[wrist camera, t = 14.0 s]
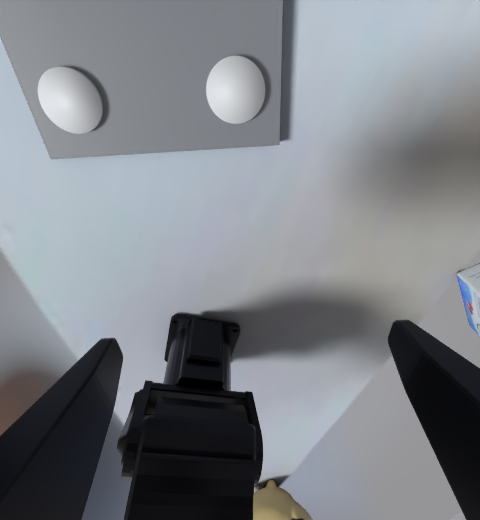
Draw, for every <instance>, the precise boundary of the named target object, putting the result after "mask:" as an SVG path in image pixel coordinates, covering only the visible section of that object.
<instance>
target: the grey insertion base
mask: <svg viewBox="0 0 480 520" xmlns="http://www.w3.org/2000/svg"><path fill="white" fill-rule="evenodd" d="M282 18H283V0H0V38H1V40H2V42H3V45H4V47H5V50H6V52H7V54H8V57H9V59H10V62H11V64H12V67H13V69H14V71H15V74H16V76H17V79H18V81H19V83H20V86H21V88H22V91H23V93H24V96H25V98H26V100H27V103H28V105H29V108H30V110H31V112H32V115H33V117H34V120H35V122H36V125H37V127H38V129H39V132H40V134H41V137H42V139H43V141H44V144H45V146H46V149H47V151H48V153H49V156H50V158H51V159H64V158H80V157H96V156H112V155H128V154H144V153H160V152H176V151H192V150H207V149H223V148H239V147H255V146H271V145H279V143H280V101H281V60H282Z"/></svg>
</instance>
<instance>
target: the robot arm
mask: <svg viewBox="0 0 480 520" xmlns="http://www.w3.org/2000/svg"><path fill="white" fill-rule="evenodd" d="M176 320H178V321H176ZM239 333H240V325H238V324H235V323H228V322H221V321H214V320H208V319H201V318H194V317H187V316H181V315H174V316H172V318H171V322H170V328H169V334H168V340H167V346H166V352H165V361H166V362H167V367H166V372H165V377H164V382H163V384H162V383H153V382H152V381H145V384H144V387H143V389H142V390H141V389H140V391H139V392H137V393H135V395H134V399H133V402H132V406H131V409H130V413H129V415H128V418H127V420H126V423H125V425H124V428H123V430H122V433H121V435H120V438H119V440H118V444H117V450H118V451H119V453H120V455H121V457H122V462H121V464H122V465H123V469H122V478H128V479H132V482H131V487H130V492H129V496H128V501H127V506H126V512H125V516H124V520H253V495H254V486H255V485H257V484H258V482H259V479H260V476H261V471H262V462H263V441H262V434H261V429H260V425H259V420H258V416H257V411H256V407H255V403H254V398H253V394H252V392H247V391H246V392H236V391H231V372H230V358H231V355H232V353H233V350H234V347H235V344H236V342H237V339H238V336H239ZM388 344H389V347H390V350H391V352H392V355H393V358H394V361H395V364H396V367H397V369H398V372H399V375H400V378H401V381H402V383H403V386H404V389H405V391H406V393H407V395H408V398H409V399H410V402H411V404H412V406H413V408H414V410H415V412H416V415H417V417H418V419H419V421H420V423H421V425H422V427H423V429H424V431H425V434H426V436H427V438H428V440H429V442H430V444H431V446H432V448H433V450H434V452H435V455H436V457H437V459H438V461H439V463H440V465H441V467H442V469H443V472H444V473H445V476H446V478H447V480H448V482H449V484H450V486H451V488H452V490H453V493H454V495H455V497H456V499H457V501H458V503H459V505H460V507H461V509H462V512H463V514H464V516H465V518H466V520H480V368H478V367H476V366H475V365H474V364H472V363H471V362H469V361H468V360H467V359H465V358H464V357H462V356H461V355H459V354H458V353H456V352H455V351H453V350H452V349H450V348H449V347H447V346H446V345H445V344H443V343H442V342H440V341H439V340H437V339H436V338H434V337H433V336H432V335H430V334H429V333H427V332H426V331H424V330H423V329H421V328H420V327H418V326H417V325H416V324H414V323H413V322H411V321H409V320H396V321H394V322H393V325H392V328H391V330H390V333H389V336H388ZM122 362H123V354H122V352H121V349H120V347H119V345H118V343H117V340H116V339H115V338H103V339H101V340H99V341H98V342H97V343H96V344H95V345H94V346H93V347H92V348H91V349H90V350H89V351H88V352H87V353H86V354H85V355H84V356H83V357H82V358H81V359H80V360H79V361H78V362H76V363H75V364H74V365H73V366H72V367H71V368H70V369H69V370H68V371H67V372H66V373H65V374H64V375H63V376H62V377H61V378H60V379H59V380H58V381H57V382H56V383H55V384H54V385H53V386H52V387H51V388H49V389H48V390H47V391H46V392H45V393H44V394H43V395H42V396H41V397H40V398H39V399H38V400H37V401H36V402H35V403H34V404H33V405H32V406H31V407H30V408H29V409H28V410H27V411H26V412H25V413H24V414H23V415H22V416H20V417H19V419H17V420H16V421H15V422H14V423H13V424H12V425H11V426H10V427H9V428H8V429H7V430H6V431H5V432H4V433H3V434H2V435H1V436H0V520H81V519H82V516H83V512H84V509H85V505H86V502H87V499H88V495H89V492H90V488H91V485H92V482H93V478H94V475H95V471H96V468H97V465H98V461H99V458H100V454H101V451H102V447H103V444H104V441H105V437H106V434H107V431H108V427H109V423H110V420H111V417H112V413H113V410H114V406H115V401H116V395H117V390H118V384H119V379H120V373H121V368H122Z"/></svg>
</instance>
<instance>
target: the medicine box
mask: <svg viewBox="0 0 480 520" xmlns="http://www.w3.org/2000/svg"><path fill="white" fill-rule="evenodd" d="M457 278H458V282H459V286H460V290H461V294H462V298H463V302H464V306H465V309H466V313H467V318H468V322H469V325H470V326H471V327H472V328H473V329H474V331H476V333H477V334H478V335H479V336H480V263H479V264H476V265H474V266H472V267H470V268H468V269H466V270H463V271H461V272H458V273H457Z"/></svg>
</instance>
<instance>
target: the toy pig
mask: <svg viewBox="0 0 480 520" xmlns="http://www.w3.org/2000/svg"><path fill="white" fill-rule="evenodd" d="M253 520H313V519H312V518H311V516H310V515H309V513H308V512H307V511H306V510H305V509H304V508H303V507H302V506H301V505H299V504H298V503H297V502H296V501H295V500H294V499H293V498H292V496H291V495H290V494H289V493H288V492H287V491H285V490H283V489H282V488H279V487H276V484H275V482H274V481H273V480H269V481H268V483H267V486H266V487H265V488H262V489H260V490H258V491H256V492H255V493H254V495H253Z"/></svg>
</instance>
